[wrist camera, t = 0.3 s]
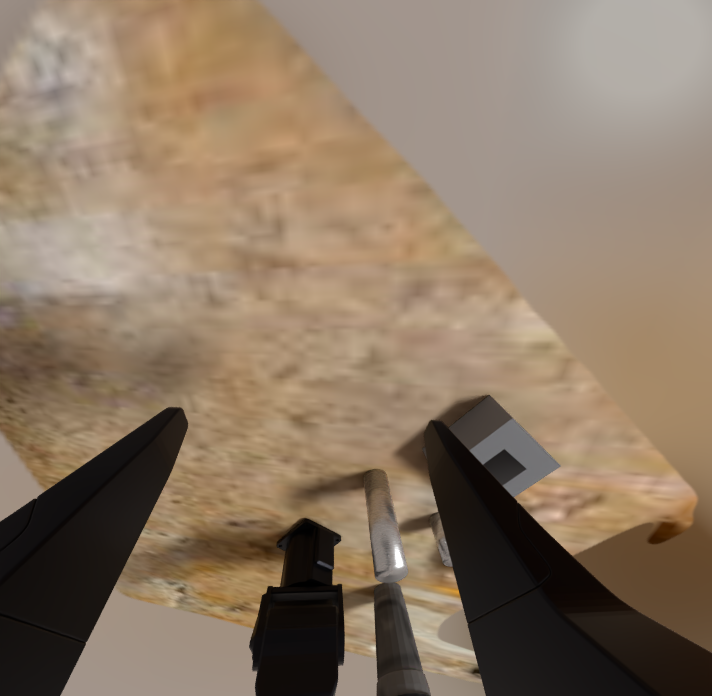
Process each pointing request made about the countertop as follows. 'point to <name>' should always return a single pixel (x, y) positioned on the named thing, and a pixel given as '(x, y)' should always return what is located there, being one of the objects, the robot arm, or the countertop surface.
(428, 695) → the beverage cup
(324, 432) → the countertop surface
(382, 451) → the countertop surface
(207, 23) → the countertop surface
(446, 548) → the short pin
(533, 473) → the hole block
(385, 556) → the long pin
